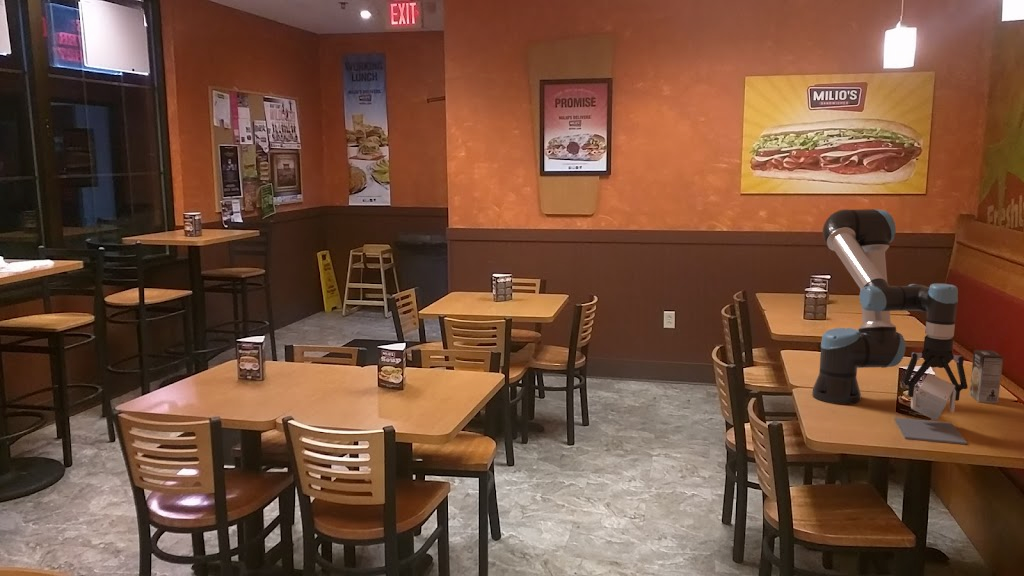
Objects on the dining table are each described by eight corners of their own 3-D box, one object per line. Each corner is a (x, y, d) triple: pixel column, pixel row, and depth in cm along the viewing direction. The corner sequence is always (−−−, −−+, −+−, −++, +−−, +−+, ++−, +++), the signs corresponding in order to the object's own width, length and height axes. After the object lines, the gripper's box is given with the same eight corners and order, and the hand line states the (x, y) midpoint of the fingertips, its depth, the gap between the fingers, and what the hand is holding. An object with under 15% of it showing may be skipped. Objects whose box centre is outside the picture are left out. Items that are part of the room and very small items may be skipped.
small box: (945, 406, 241) (956, 385, 231) (936, 421, 239) (947, 401, 228) (918, 393, 245) (928, 372, 235) (909, 408, 243) (918, 388, 232)
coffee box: (968, 394, 272) (972, 349, 270) (988, 395, 271) (993, 350, 268) (978, 402, 263) (983, 355, 261) (999, 403, 262) (1004, 356, 260)
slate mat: (905, 438, 229) (905, 436, 229) (894, 419, 246) (894, 417, 246) (966, 444, 224) (967, 442, 224) (951, 424, 241) (951, 422, 241)
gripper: (978, 336, 233) (970, 408, 237) (895, 331, 240) (889, 401, 243) (985, 341, 226) (977, 416, 230) (899, 336, 233) (893, 409, 236)
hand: (932, 409), depth 237 cm, fingers closed on small box, 10 cm apart
